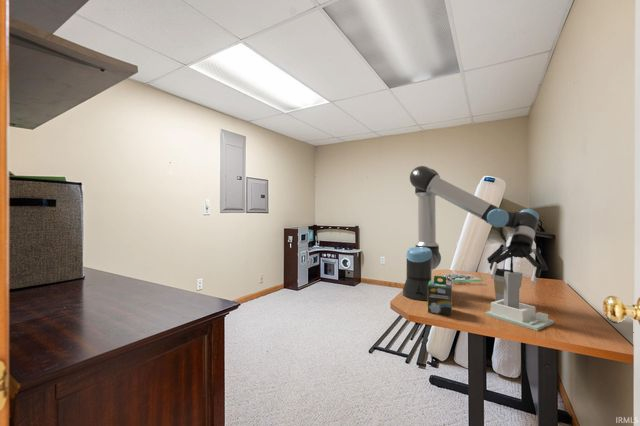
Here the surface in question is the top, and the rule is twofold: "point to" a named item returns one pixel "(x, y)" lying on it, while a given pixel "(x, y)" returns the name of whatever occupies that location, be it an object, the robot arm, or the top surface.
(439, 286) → the chalk box
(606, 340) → the top surface
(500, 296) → the coffee cup
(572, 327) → the top surface
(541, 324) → the architectural building model
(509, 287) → the vintage mobile phone
